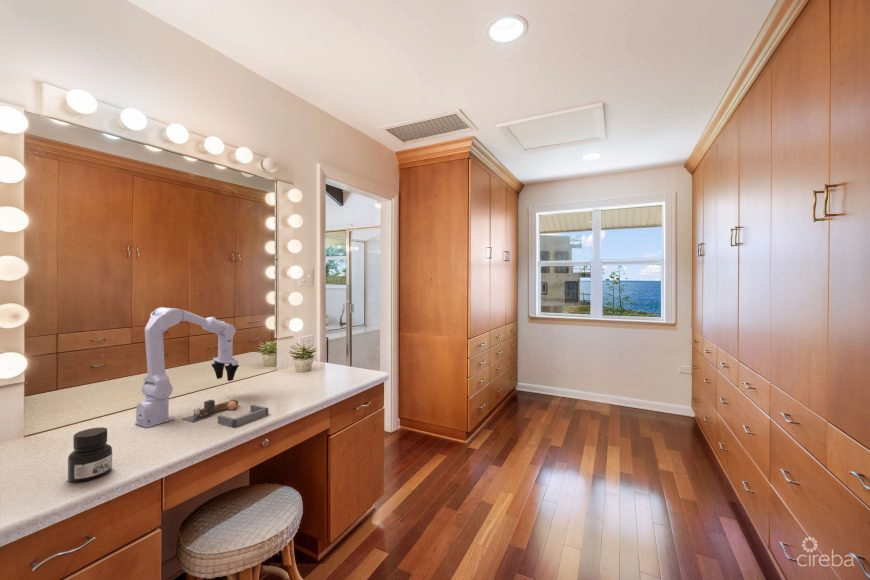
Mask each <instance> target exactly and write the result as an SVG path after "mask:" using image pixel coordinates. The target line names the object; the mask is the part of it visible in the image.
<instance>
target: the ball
mask: <svg viewBox="0 0 870 580" xmlns="http://www.w3.org/2000/svg"><path fill="white" fill-rule="evenodd" d="M227 407H228V408H227V409H228V410H232V411H233V410H235V409H236V408H237V407H238V406H237V404H236V402H235V401H231V402H229V403H228V405H227Z"/></svg>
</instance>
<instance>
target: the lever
mask: <svg viewBox="0 0 870 580" xmlns="http://www.w3.org/2000/svg"><path fill="white" fill-rule="evenodd" d="M231 401H235V402H236V404H237V406H236V407H238V406H239V400H237V399H230V400H227V401H224V402H221V403H217V404H215V403H216V401H215V400H214V399H209V400H205V401H204V403H203V408H200V415H210V414H213V413H216V412H219V411H221V410H224V409H228V407H227V405H228V403H229V402H231Z"/></svg>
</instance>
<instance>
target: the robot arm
mask: <svg viewBox="0 0 870 580" xmlns="http://www.w3.org/2000/svg"><path fill="white" fill-rule="evenodd" d="M149 315H150V317H149V320H148V322H147V323H146V326H145V327H144V340H145V343H144V344H145V355H146V370H147V372H146V373H147V375H146V376H145V377H144V378H143V384H142V386H141V392H142V394H143V395H144V396H145V398H144V400H143V401H141V402H139V403H137V405H136V409H135V411H136V413H135V414H136V417H135V419H136V420H135V423H134V424H135V425H138V426H141V427H144V428H149V427H154V426H156V425H160V424H162V423H166V422H169V421H173V420H175V418H174V417H172V416H169V414H170V413H169V412H170V409H169V408H170V407H169V404H170V403H169V401H170V396H171V395H172V393H173V389H174V388H173V385H172V383H171V381H170V378H169V376H168V375H167V373H166V363H165V350H164V349H165V348H164V333H165V332H166V331H167V330H168V329H170V328H171V327H173V326H175V325H178V324H179V323H181V322H189V323H192V324H196V325H199V326H201V328H202V329H203V330H205V331H207V332H210V333H214V334H216V336H217V357H213V358H212V362H213V363H211V367H212V368H213V370H214V372H215V376H216V379H217V380H220V379H223V376H224V368H225V371H226V377H227V379H226V380H227V381H228V382H232V381H234V378H235V374H236V372H237V370H238V368H239V367H240V365H239V361H238V360H237V359H235V357H233V342H234V340H233V339H234V336H235V334H236V332H237V329H236V328H235V326H234V325H233V324H232V323H226V321H225V320H219V319H217V318H216V317H215V316H209V317H206V318H205V317H203V316H200V315H197V314H195V313H193V312H190V311H188V310H185V309H184V310H183V309H180V308H178V307H177V308H176V307H174V308H173V307H172V308H171V307H164V306H162V307H157V308H156V309H155V310H153V311H152V312H151V313H150V314H149Z"/></svg>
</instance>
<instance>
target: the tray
mask: <svg viewBox="0 0 870 580" xmlns="http://www.w3.org/2000/svg"><path fill="white" fill-rule="evenodd" d="M266 416H269V408H268V407H265V406H260V405H256V404H251V405H250V413H248V414H247V413H246V414H245V415H241V416H238V417H236V418H233V417H230V416H225V415H222V414H221V415H217V424H219V425H222V426H225V427H226V426H227V427H229V428H233V429H234V428H236V427H240V426H242V425H245V424H248V423H251V422H252V421H256V420H259V419H261V418H263V417H266Z"/></svg>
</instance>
